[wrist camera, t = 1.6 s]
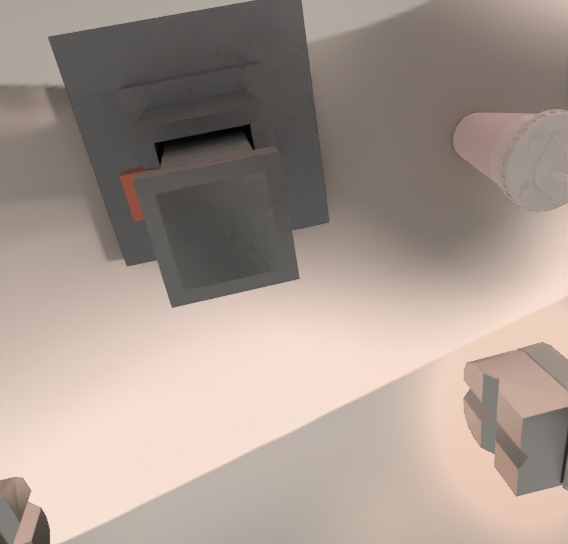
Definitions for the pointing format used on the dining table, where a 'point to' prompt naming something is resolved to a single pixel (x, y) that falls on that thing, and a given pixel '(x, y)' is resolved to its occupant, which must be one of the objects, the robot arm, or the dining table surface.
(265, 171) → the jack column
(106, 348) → the dining table surface
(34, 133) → the dining table surface
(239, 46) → the base
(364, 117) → the dining table surface
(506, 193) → the smoothie
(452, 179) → the dining table surface
